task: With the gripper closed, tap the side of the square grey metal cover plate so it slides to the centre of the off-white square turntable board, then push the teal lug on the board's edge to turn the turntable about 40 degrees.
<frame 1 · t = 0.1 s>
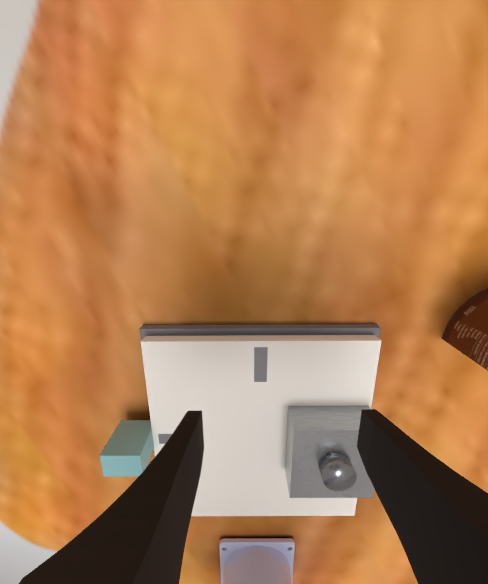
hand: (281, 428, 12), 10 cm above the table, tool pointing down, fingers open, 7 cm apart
cover: (324, 438, 22), point 2 cm above the table, touching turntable
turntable: (241, 446, 21), point 3 cm above the table, hinge at 0.0°, touching cover
susan base: (258, 420, 24), on the table
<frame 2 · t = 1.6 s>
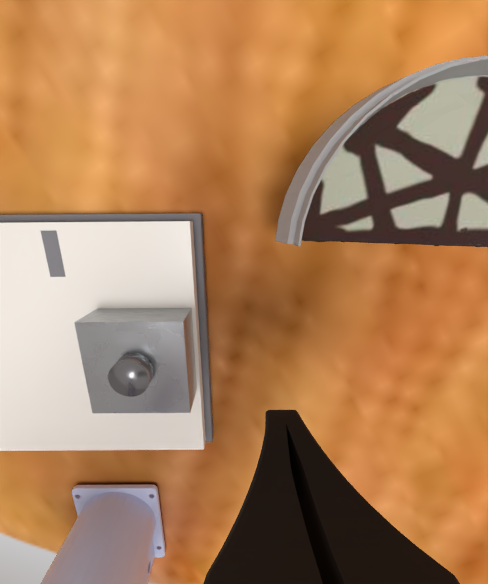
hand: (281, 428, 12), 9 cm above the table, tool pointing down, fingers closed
food container: (353, 189, 18), on the table
cover: (149, 350, 19), point 2 cm above the table, touching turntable
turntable: (45, 356, 18), point 3 cm above the table, hinge at 0.0°, touching cover
susan base: (89, 338, 21), on the table
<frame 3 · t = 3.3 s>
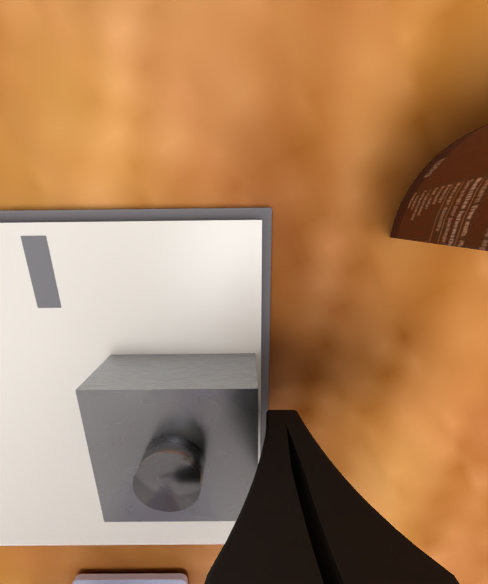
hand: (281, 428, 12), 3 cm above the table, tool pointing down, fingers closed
cover: (187, 414, 12), point 2 cm above the table, touching gripper, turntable
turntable: (31, 427, 12), point 3 cm above the table, hinge at 0.0°, touching cover
susan base: (97, 389, 14), on the table
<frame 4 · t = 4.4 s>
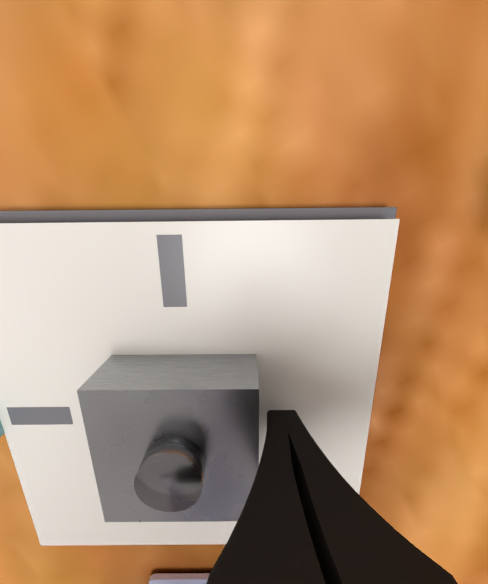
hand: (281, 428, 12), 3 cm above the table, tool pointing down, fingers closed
cover: (188, 414, 12), point 2 cm above the table, touching gripper, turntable
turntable: (148, 426, 12), point 3 cm above the table, hinge at 0.1°, touching cover
susan base: (192, 388, 14), on the table
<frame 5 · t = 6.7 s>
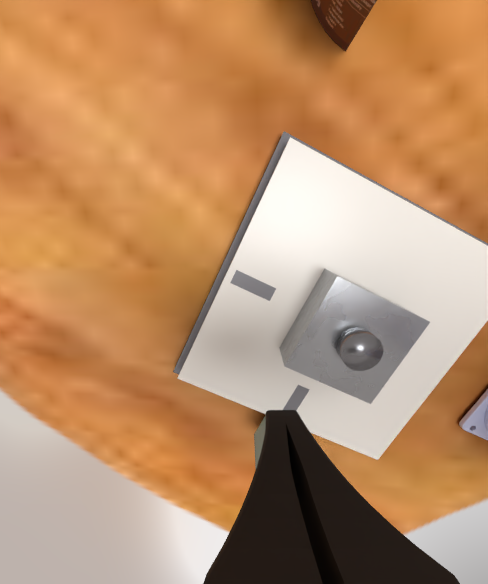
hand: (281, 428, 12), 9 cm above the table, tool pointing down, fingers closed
cover: (340, 328, 18), point 2 cm above the table, touching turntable
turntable: (334, 349, 18), point 3 cm above the table, hinge at 0.1°, touching cover
susan base: (332, 316, 20), on the table
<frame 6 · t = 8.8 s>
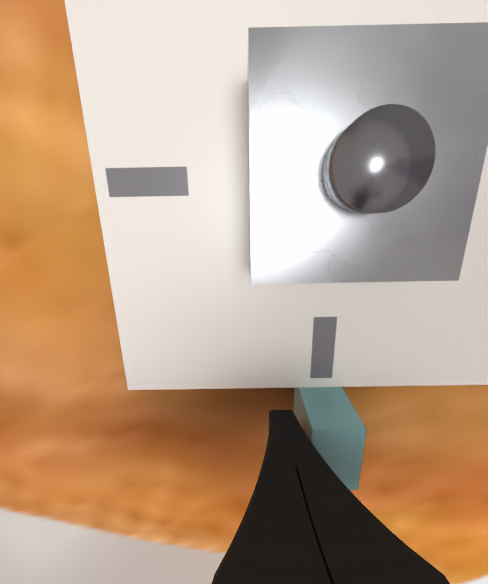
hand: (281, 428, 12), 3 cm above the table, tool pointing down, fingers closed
cover: (335, 182, 10), point 2 cm above the table, touching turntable
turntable: (339, 220, 9), point 3 cm above the table, hinge at 0.5°, touching cover, gripper
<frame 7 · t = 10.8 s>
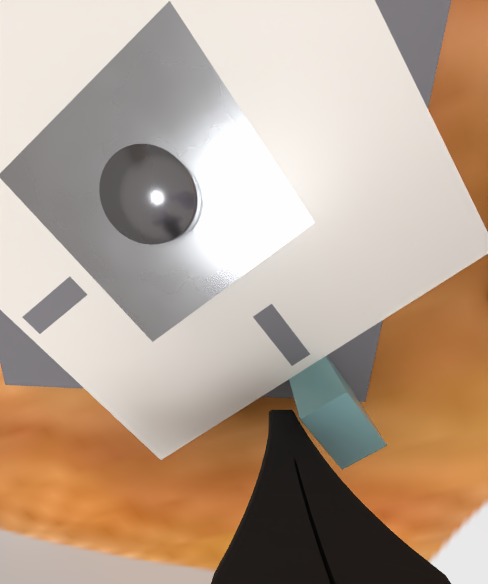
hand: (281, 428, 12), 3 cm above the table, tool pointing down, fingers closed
cover: (180, 204, 10), point 2 cm above the table, touching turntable
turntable: (199, 235, 9), point 3 cm above the table, hinge at 40.1°, touching cover, gripper
susan base: (189, 204, 12), on the table
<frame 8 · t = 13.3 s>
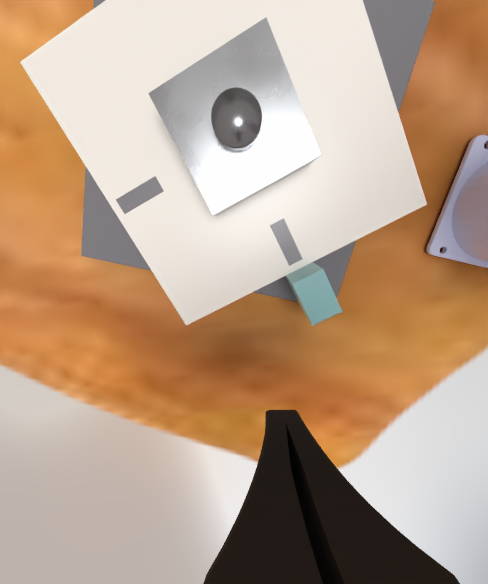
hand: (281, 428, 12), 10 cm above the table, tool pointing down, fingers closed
cover: (238, 139, 15), point 2 cm above the table, touching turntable
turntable: (248, 159, 15), point 3 cm above the table, hinge at 40.1°, touching cover
susan base: (237, 147, 17), on the table
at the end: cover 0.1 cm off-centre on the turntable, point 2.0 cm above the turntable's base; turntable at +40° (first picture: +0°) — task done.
